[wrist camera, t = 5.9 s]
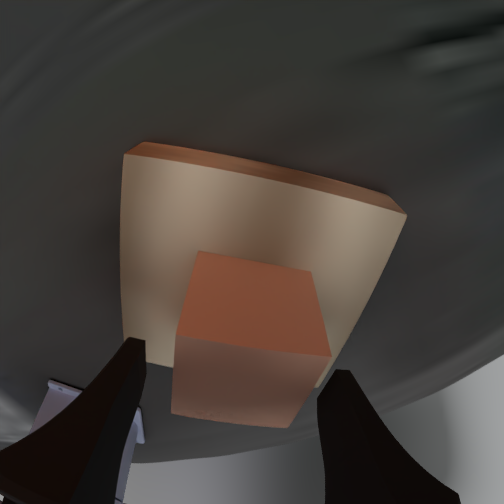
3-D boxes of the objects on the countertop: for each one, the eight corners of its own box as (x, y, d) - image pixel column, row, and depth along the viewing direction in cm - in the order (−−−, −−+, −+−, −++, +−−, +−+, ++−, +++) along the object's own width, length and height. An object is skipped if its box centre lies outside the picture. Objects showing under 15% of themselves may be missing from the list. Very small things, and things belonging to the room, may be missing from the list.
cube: (187, 332, 16) (170, 413, 12) (198, 250, 14) (175, 334, 9) (281, 347, 17) (287, 428, 12) (310, 271, 14) (332, 356, 10)
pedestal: (138, 323, 20) (125, 356, 17) (147, 139, 14) (124, 153, 11) (312, 353, 21) (318, 387, 19) (383, 191, 15) (407, 215, 13)
